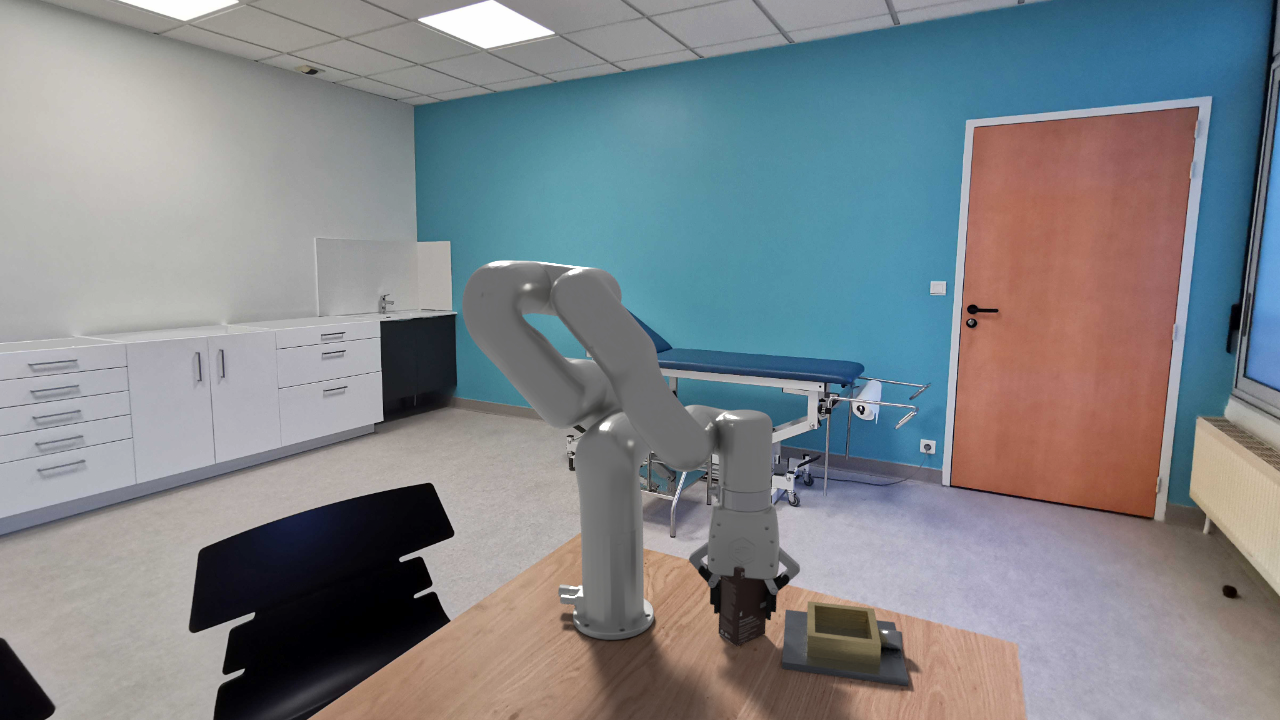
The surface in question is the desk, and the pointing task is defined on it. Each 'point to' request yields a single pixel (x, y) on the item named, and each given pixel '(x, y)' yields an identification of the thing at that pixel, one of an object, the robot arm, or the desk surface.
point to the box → (741, 607)
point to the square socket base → (843, 644)
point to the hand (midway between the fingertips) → (743, 611)
